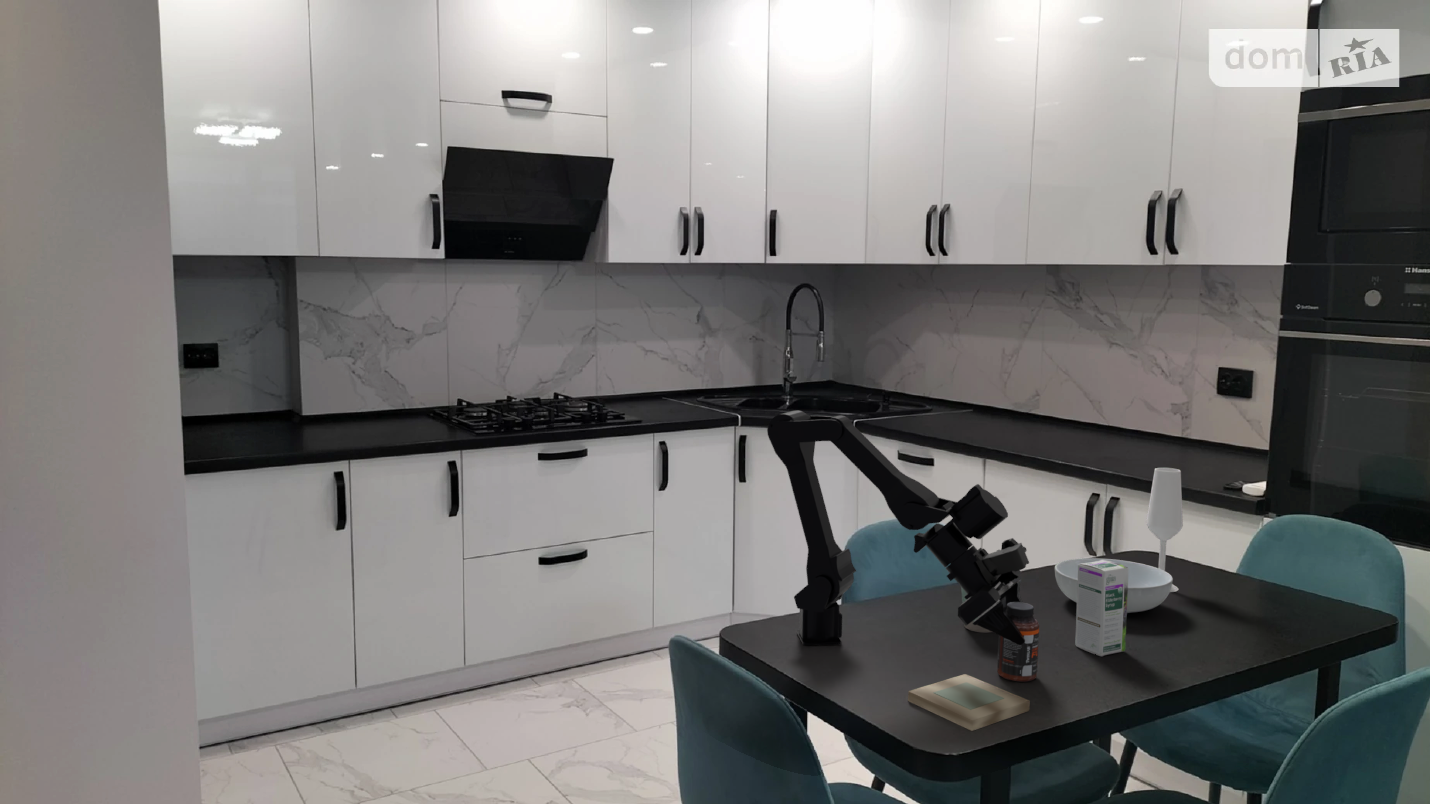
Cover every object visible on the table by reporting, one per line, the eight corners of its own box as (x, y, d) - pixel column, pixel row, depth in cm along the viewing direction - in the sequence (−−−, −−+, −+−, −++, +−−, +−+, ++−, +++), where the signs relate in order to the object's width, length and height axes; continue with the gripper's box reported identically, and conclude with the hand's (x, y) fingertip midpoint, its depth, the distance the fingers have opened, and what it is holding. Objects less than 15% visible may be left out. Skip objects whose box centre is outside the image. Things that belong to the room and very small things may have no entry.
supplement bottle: (1038, 685, 156) (1042, 612, 155) (998, 681, 157) (1001, 609, 156) (1034, 670, 162) (1038, 600, 160) (995, 667, 163) (998, 598, 162)
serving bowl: (1178, 602, 198) (1181, 567, 197) (1160, 632, 180) (1162, 594, 180) (1068, 584, 209) (1069, 551, 208) (1040, 611, 191) (1041, 575, 191)
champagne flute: (1155, 580, 212) (1162, 465, 209) (1185, 588, 206) (1193, 471, 203) (1135, 585, 208) (1142, 468, 205) (1165, 594, 202) (1172, 474, 200)
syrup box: (1101, 657, 168) (1105, 570, 166) (1073, 646, 173) (1077, 561, 171) (1125, 651, 170) (1130, 566, 169) (1097, 640, 176) (1102, 558, 174)
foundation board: (971, 730, 140) (972, 719, 139) (908, 701, 149) (908, 690, 149) (1029, 710, 146) (1029, 700, 146) (964, 683, 156) (965, 673, 156)
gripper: (982, 538, 150) (1056, 624, 146) (1010, 514, 167) (1078, 590, 163) (928, 583, 155) (998, 667, 151) (960, 554, 171) (1025, 630, 167)
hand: (1027, 636), depth 158 cm, fingers open, 7 cm apart
